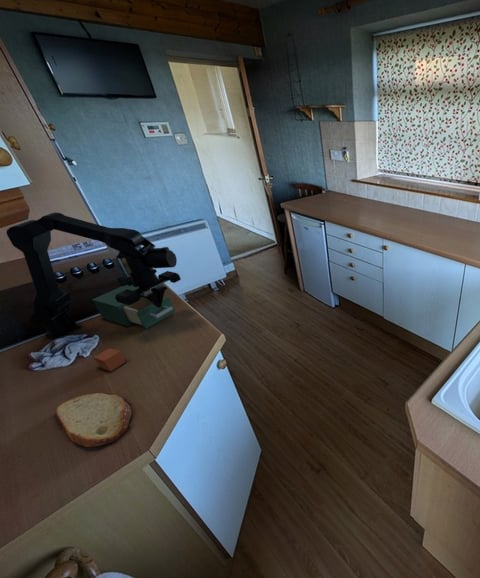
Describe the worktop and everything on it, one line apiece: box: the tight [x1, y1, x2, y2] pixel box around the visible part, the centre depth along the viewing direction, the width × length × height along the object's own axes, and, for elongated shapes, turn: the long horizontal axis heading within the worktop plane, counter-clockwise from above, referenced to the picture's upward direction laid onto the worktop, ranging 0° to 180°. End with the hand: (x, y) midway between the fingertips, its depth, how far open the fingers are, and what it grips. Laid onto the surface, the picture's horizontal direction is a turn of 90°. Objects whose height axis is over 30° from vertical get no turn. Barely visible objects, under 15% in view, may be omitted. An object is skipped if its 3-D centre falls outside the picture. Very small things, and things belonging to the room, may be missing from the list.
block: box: [93, 347, 127, 372], centre depth 89 cm, size 4×4×4 cm
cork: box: [121, 258, 131, 277], centre depth 134 cm, size 6×6×11 cm
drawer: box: [122, 296, 176, 329], centre depth 108 cm, size 17×11×7 cm
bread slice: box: [56, 392, 132, 448], centre depth 72 cm, size 18×18×4 cm
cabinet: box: [91, 285, 142, 327], centre depth 111 cm, size 14×13×9 cm
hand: (159, 307), depth 105 cm, fingers closed
